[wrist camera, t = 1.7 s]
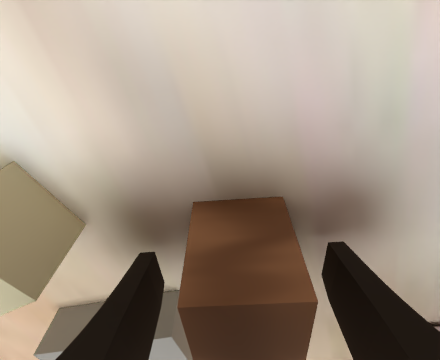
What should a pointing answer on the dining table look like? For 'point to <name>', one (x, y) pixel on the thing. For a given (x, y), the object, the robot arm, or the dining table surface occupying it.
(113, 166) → the dining table surface
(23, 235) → the sage block
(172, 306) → the base block
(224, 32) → the dining table surface
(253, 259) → the walnut block
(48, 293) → the dining table surface
